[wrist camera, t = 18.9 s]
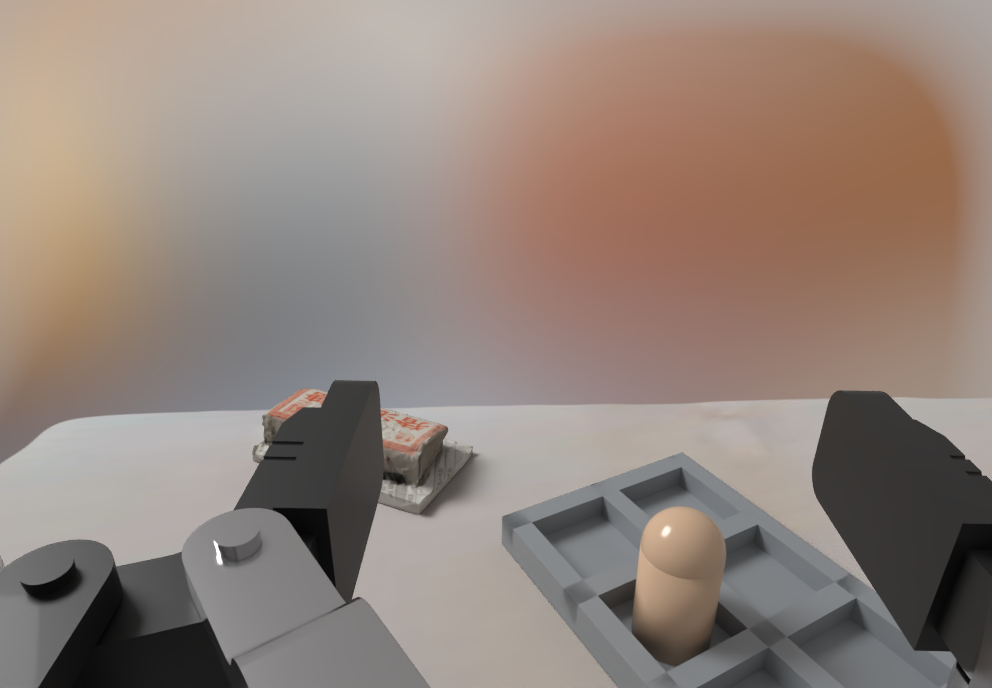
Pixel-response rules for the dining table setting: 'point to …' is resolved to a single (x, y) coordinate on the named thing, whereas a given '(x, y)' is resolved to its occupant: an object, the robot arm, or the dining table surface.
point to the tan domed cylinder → (678, 584)
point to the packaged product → (391, 452)
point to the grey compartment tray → (743, 595)
